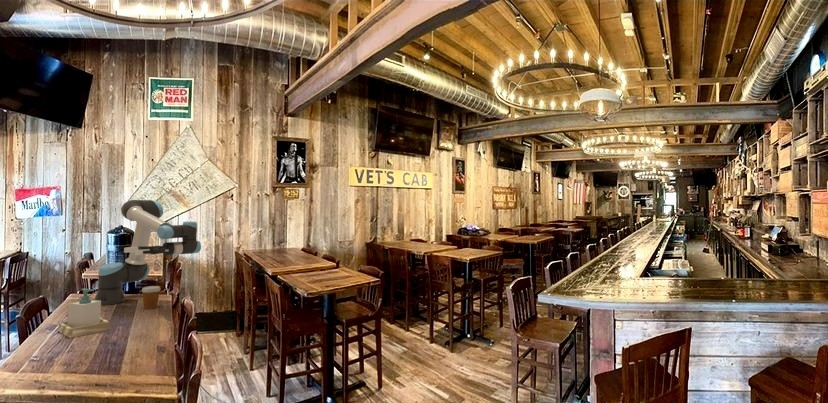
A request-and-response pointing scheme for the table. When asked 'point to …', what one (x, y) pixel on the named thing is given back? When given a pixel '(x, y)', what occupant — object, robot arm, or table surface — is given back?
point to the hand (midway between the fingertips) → (129, 251)
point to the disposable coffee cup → (150, 296)
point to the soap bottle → (84, 311)
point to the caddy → (83, 329)
